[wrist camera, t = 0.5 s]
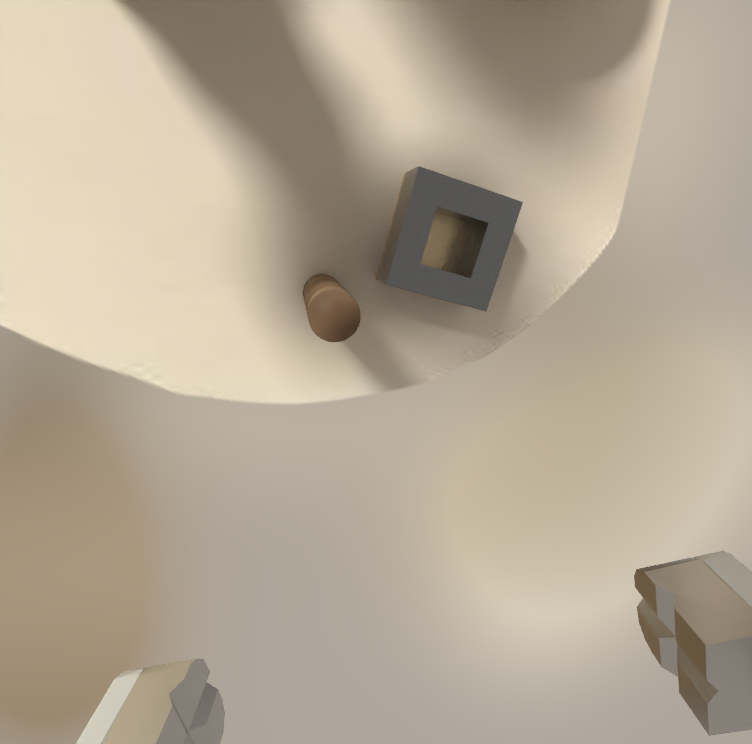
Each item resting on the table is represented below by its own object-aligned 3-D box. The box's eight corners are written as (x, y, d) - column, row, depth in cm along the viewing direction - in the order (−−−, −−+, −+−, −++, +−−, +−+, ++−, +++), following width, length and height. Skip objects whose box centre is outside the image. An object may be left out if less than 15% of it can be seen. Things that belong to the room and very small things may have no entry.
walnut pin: (308, 269, 50) (315, 284, 36) (345, 279, 52) (366, 297, 37) (299, 307, 51) (303, 335, 37) (336, 316, 53) (353, 346, 39)
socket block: (405, 173, 49) (418, 166, 44) (499, 205, 52) (522, 202, 47) (376, 279, 52) (386, 284, 47) (467, 303, 55) (486, 311, 50)
